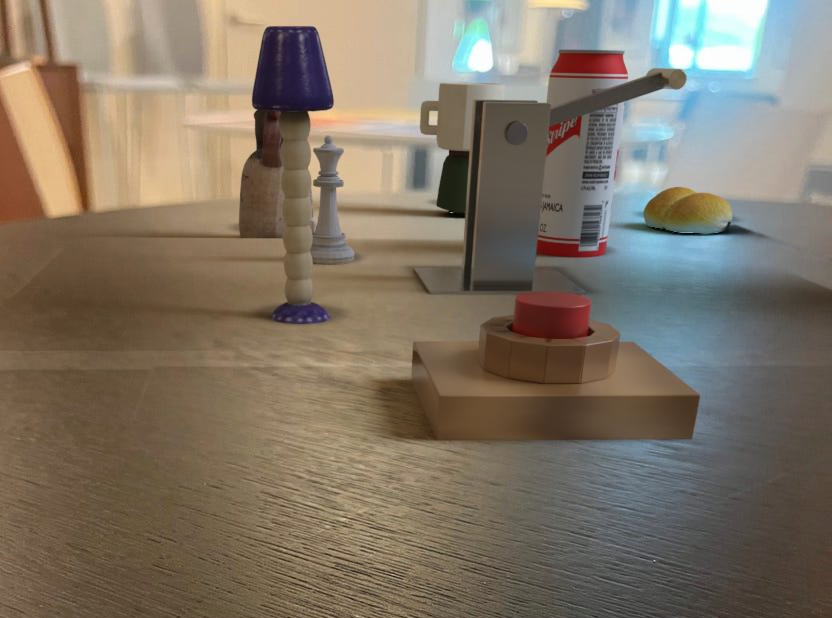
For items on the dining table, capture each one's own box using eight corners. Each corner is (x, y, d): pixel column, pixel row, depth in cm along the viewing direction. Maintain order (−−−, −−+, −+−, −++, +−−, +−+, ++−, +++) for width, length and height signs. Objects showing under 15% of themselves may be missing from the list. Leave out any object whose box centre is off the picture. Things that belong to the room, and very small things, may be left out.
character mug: (515, 213, 117) (527, 84, 110) (508, 221, 111) (520, 85, 104) (421, 208, 119) (428, 81, 113) (409, 216, 113) (415, 82, 107)
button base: (627, 381, 56) (639, 306, 54) (692, 441, 47) (708, 354, 45) (410, 382, 55) (414, 306, 53) (436, 442, 47) (441, 354, 45)
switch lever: (664, 93, 72) (659, 56, 71) (689, 96, 68) (684, 56, 66) (486, 152, 73) (478, 116, 72) (499, 158, 69) (491, 120, 68)
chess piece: (356, 277, 81) (359, 137, 76) (301, 277, 81) (300, 137, 76) (353, 267, 85) (355, 133, 80) (300, 267, 84) (299, 133, 79)
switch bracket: (553, 284, 80) (573, 100, 74) (583, 309, 72) (609, 105, 66) (414, 283, 79) (422, 97, 73) (429, 308, 71) (440, 102, 65)
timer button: (576, 327, 51) (580, 291, 50) (595, 344, 48) (600, 306, 47) (505, 327, 51) (508, 290, 50) (520, 345, 48) (524, 306, 47)
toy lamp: (324, 345, 62) (325, 24, 54) (250, 340, 63) (239, 23, 54) (339, 327, 66) (342, 27, 58) (269, 323, 67) (262, 26, 58)
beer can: (557, 271, 85) (581, 49, 77) (516, 259, 90) (536, 49, 82) (618, 267, 87) (648, 51, 79) (575, 255, 92) (600, 50, 84)
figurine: (322, 237, 99) (322, 97, 93) (306, 248, 93) (305, 99, 87) (250, 234, 100) (246, 95, 94) (230, 245, 94) (224, 97, 88)
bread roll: (692, 237, 102) (700, 194, 100) (628, 226, 109) (634, 185, 107) (748, 232, 106) (756, 190, 104) (683, 221, 113) (689, 182, 111)
